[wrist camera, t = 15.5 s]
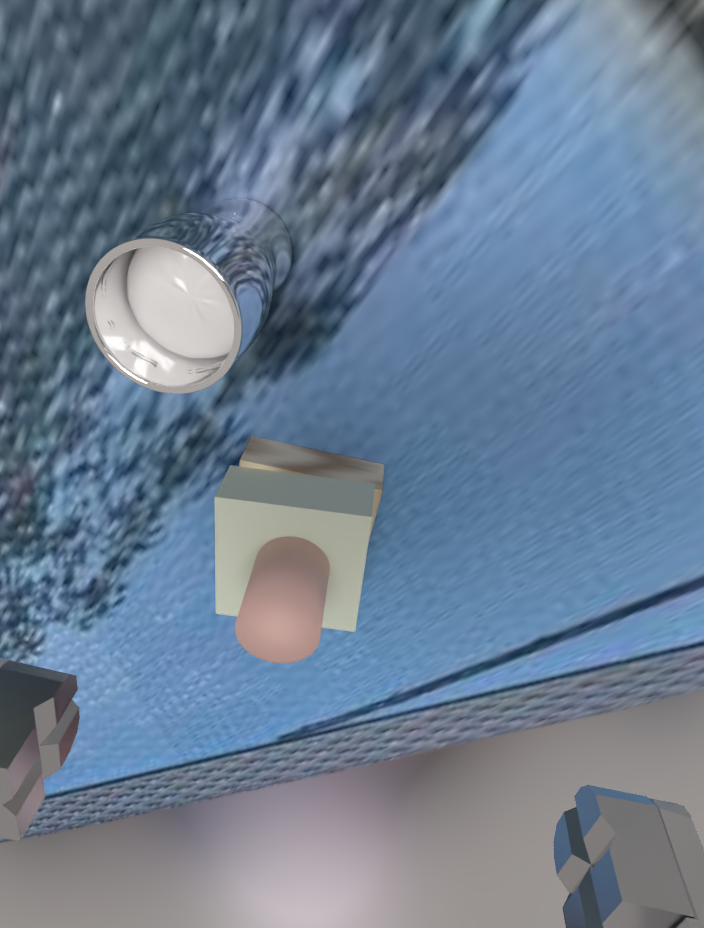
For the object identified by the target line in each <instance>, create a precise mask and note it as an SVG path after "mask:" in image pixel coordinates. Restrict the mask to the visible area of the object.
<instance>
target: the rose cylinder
mask: <svg viewBox="0 0 704 928" xmlns="http://www.w3.org/2000/svg"><path fill="white" fill-rule="evenodd" d="M329 573H330V565H329V561H328V558H327V557H326V555H325V553H324V552H323V551H322V550H321V549H320V548H319V547H318V546H317V545H315V544H314V543H312V542H310V541H308V540H305V539H302V538H298V537H280V538H276V539H273V540H271V541H269V542H268V543H266V544H265V545H264V546H262V548H261V549H260V550H259V552H258V554H257V556H256V559H255V563H254V566H253V569H252V572H251V575H250V579H249V582H248V585H247V588H246V591H245V594H244V598H243V601H242V604H241V607H240V610H239V613H238V617H237V620H236V624H235V633H236V636H237V639H238V641H239V642H240V644H241V645H242V646H243V647H244V649H246V650H247V651H248V652H249V653H251V654H252V655H254V656H256V657H257V658H260V659H262V660H265V661H269V662H274V663H292V662H296V661H300V660H302V659H304V658H306V657H308V656H309V655H311V654H312V653H313V652H314V651H315V649H316V648H317V646H318V644H319V641H320V635H321V628H322V621H323V614H324V607H325V600H326V593H327V587H328V580H329Z"/></svg>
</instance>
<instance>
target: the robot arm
mask: <svg viewBox="0 0 704 928" xmlns="http://www.w3.org/2000/svg"><path fill="white" fill-rule="evenodd" d="M77 690H78V687H77V679H76V676H75V675H71V674H67V673H62V672H58V671H54V670H49V669H45V668H40V667H36V666H32V665H27V664H23V663H18V662H14V661H12V660H7V659H2V658H0V837H1V838H6V839H12V840H17V841H21V839H22V837H23V836H24V834H25V832H26V830H27V828H28V827H29V825H30V823H31V821H32V819H33V818H34V816H35V814H36V812H37V811H38V809H39V807H40V805H41V803H42V802H43V800H44V798H45V791H44V782H43V780H44V779H46V778H47V777H49V776H50V775H52V774H53V773H55V772H56V771H58V770H59V769H61V767H62V765H63V763H64V762H65V760H66V758H67V756H68V754H69V752H70V750H71V747H72V745H73V742H74V739H75V736H76V734H77V730H78V724H79V718H80V716H79V707H78V706H77V705H76V704H75V703H74V701H73V700H72V698H73V697H74V695H75V693H76V692H77ZM575 801H576V806H577V807H575V808H573V809H570V810H568V811H565V812H564V813H563V815H562V817H561V818H560V820H559V821H558V823H557V826H556V832H555V838H554V859H555V866H556V871H557V876H558V877H559V879H560V880H561V882H562V883H563V884H564V886H565V887H566V889H567V890H568V891H569V895H568V897H567V900H566V902H565V904H564V906H563V913H564V919H565V925H566V928H704V849H703V847H702V844H701V842H700V839H699V836H698V834H697V831H696V829H695V826H694V823H693V821H692V818H691V816H690V814H689V812H688V811H687V810H686V809H685V807H684V806H681V805H678V804H676V803H671V802H666V801H661V800H655V799H650V798H647V797H646V796H641V795H636V794H631V793H625V792H620V791H616V790H611V789H605V788H600V787H595V786H590V785H587V786H583V787H581V788H580V789H579V791H578V792H577V794H576V795H575Z"/></svg>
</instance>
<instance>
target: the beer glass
mask: <svg viewBox="0 0 704 928" xmlns="http://www.w3.org/2000/svg"><path fill="white" fill-rule="evenodd" d="M292 257H293V252H292V244H291V240H290V236H289V234H288V231H287V229H286V227H285V226H284V224H283V222H282V221H281V220H280V218H279V217H278V216H277V215H276V214H275V213H274V212H273V211H272V210H270V209H269V208H268V207H266V206H265V205H263V204H261V203H259V202H256V201H253V200H250V199H243V198H236V199H229V200H226V201H223V202H221V203H219V204H217V205H215V206H214V207H212V208H211V209H210V210H209V211H208V212H207V213H187V214H179V215H175V216H171V217H168V218H165V219H162V220H159V221H157V222H155V223H153V224H151V225H149V226H147V227H145V228H143V229H141V230H140V231H138V232H137V233H135V234H134V235H132V236H131V237H129V238H128V239H127V240H125V241H124V242H123V243H121V244H120V245H118V246H116V247H114V248H113V249H111V250H110V251H109V252H107V253H106V254H105V255H104V256H103V257H102V258H101V259H100V261H99V262H98V263H97V264H96V266H95V268H94V269H93V271H92V273H91V275H90V278H89V281H88V284H87V288H86V295H85V309H86V317H87V321H88V325H89V328H90V331H91V334H92V336H93V338H94V340H95V342H96V344H97V346H98V347H99V349H100V351H101V352H102V353H103V355H104V356H105V357H106V359H107V360H108V361H109V362H110V363H111V364H112V365H113V366H114V367H115V368H116V369H117V370H118V371H119V372H120V373H122V374H123V375H124V376H126V377H127V378H128V379H130V380H132V381H133V382H135V383H137V384H139V385H141V386H143V387H145V388H148V389H151V390H154V391H157V392H162V393H169V394H186V393H192V392H196V391H199V390H202V389H205V388H207V387H209V386H211V385H212V384H214V383H216V382H217V381H218V380H220V379H221V378H222V377H223V376H224V375H225V374H226V373H227V372H228V370H229V369H230V368H231V366H233V365H234V364H235V363H236V362H237V361H238V360H239V358H240V357H241V356H242V355H243V354H244V353H245V352H246V351H247V350H248V348H249V347H250V346H251V344H252V343H253V342H254V340H255V339H256V337H257V336H258V334H259V332H260V330H261V328H262V327H263V325H264V323H265V320H266V318H267V315H268V311H269V308H270V304H271V299H272V294H273V293H274V292H275V291H277V290H278V289H279V288H280V287H281V285H282V284H283V283H284V282H285V280H286V278H287V276H288V274H289V272H290V269H291V265H292Z"/></svg>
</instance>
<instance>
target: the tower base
mask: <svg viewBox="0 0 704 928" xmlns="http://www.w3.org/2000/svg"><path fill="white" fill-rule="evenodd" d="M239 466H240V467H248V468H256V469H263V470H271V471H279V472H287V473H295V474H302V475H310V476H318V477H326V478H334V479H341V480H349V481H357V482H365V483H372V484H375V487H374V500H373V513H372V522H371V528H370V535H371V531H372V528H373V524H374V521H375V517H376V513H377V510H378V506H379V502H380V499H381V495H382V491H383V478H384V464H380V463H375V462H370V461H366V460H361V459H356V458H352V457H347V456H342V455H338V454H333V453H328V452H324V451H319V450H314V449H310V448H305V447H301V446H296V445H291V444H287V443H282V442H277V441H273V440H268V439H263V438H259V437H254V436H251V438H250V440H249V442H248V444H247V446H246V448H245V450H244V452H243V454H242V457H241V459H240V463H239ZM370 535H369V539H370Z"/></svg>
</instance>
